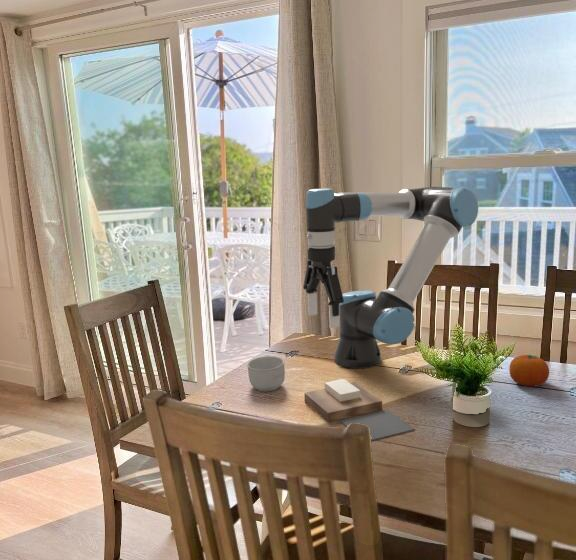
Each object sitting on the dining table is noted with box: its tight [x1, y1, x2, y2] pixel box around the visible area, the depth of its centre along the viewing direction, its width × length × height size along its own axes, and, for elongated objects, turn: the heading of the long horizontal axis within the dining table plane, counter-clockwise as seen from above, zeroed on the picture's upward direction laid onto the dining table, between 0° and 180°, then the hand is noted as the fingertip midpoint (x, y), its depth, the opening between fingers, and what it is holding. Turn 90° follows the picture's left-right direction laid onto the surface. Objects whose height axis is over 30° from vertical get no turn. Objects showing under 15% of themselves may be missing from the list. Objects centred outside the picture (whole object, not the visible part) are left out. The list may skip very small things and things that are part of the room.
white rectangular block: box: [324, 378, 360, 402], centre depth 151 cm, size 6×9×2 cm, turn 23°
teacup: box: [246, 354, 286, 393], centre depth 164 cm, size 14×11×8 cm
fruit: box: [508, 354, 550, 387], centre depth 160 cm, size 11×10×8 cm
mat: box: [339, 409, 416, 442], centre depth 138 cm, size 14×12×1 cm
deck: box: [303, 382, 383, 423], centre depth 150 cm, size 16×14×2 cm
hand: (323, 320), depth 157 cm, fingers open, 13 cm apart
